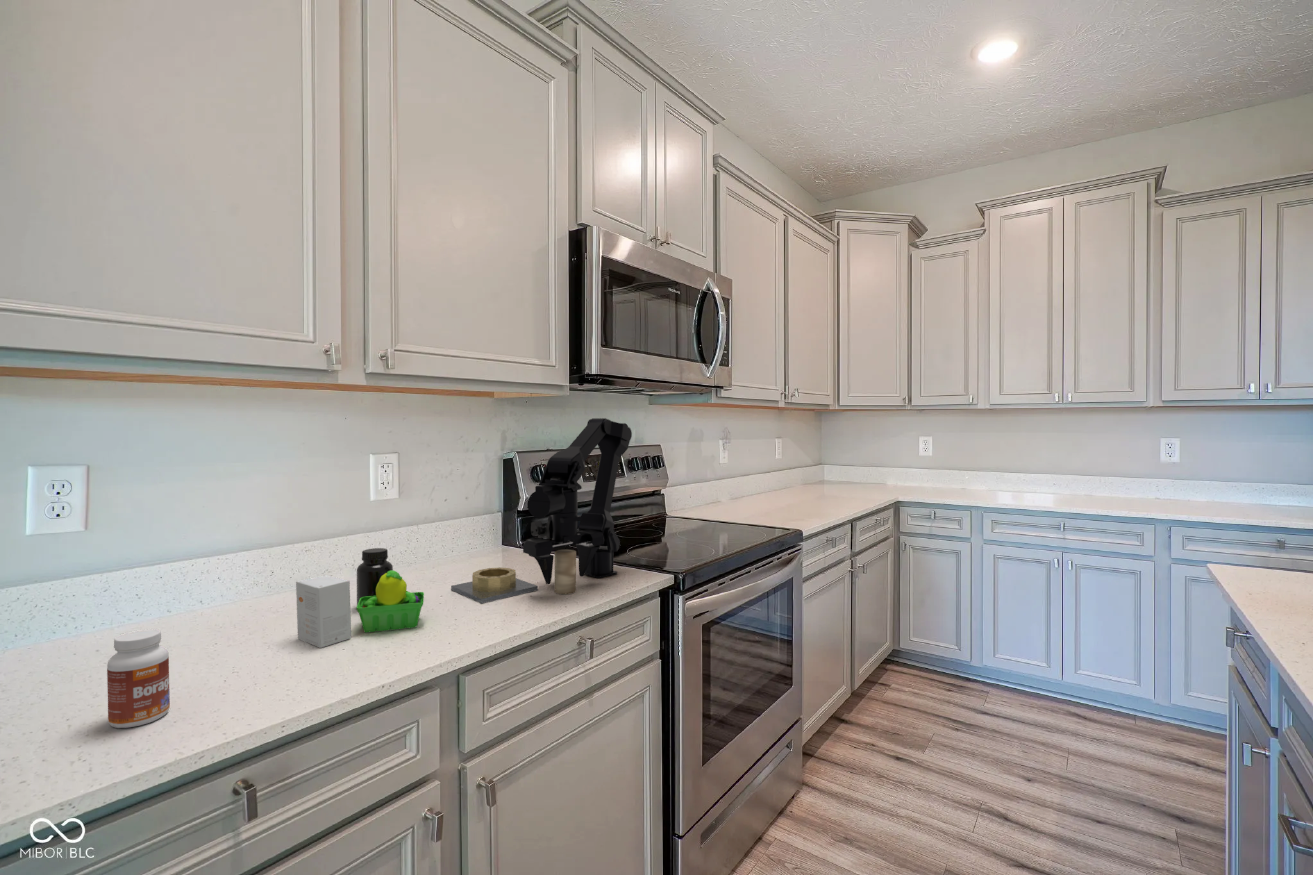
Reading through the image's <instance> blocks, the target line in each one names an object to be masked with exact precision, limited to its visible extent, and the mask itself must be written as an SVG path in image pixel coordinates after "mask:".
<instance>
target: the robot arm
mask: <svg viewBox="0 0 1313 875" xmlns="http://www.w3.org/2000/svg"><path fill="white" fill-rule="evenodd" d="M632 434H633V433H632V429H631V427H629V426H628V424H627V423H625V422H622V423H621V422H616V421H613V420H611V419H609V418H606V417H604V418H603V417H602V418H601V417H599V418H598V417H595V418H590V419H588V420H587V425H586V426H585V427H584V428H583V429H582V431H581V432H580V433H579V434H578V435H577V436H576V438H575V439H574V440H573V441H572V443H570V445H568V446H567V447H566V448H565V449H561V450H559V451H557V452H555V453H554V454H553V455H551V456H550V458H548V460H547V463H546V464H545V467H544V470H543V472H542V475H541V478H540V480H539V483H538V484H537V485H535V489H534V490H535V491H534V492H532V493H531V494H530V495H529V497H528V501H527V509H528V510H527V511H528V512H529V513H530V515H532V517H534V518H536V519H542V518H543V519H544V518H546V517H547V522H545V523H543V522H542V520H536V521H532V522H530V533H531V535H532V537H535V538H530V539H525V541H524V543H523V545H522V553H523V554H527V555H528V556H529V557H531V558H534V560H535V561H536V562H537V564H538V566H539V569H540V570H541V573H542V576H543V578H544V582H545V584H546V585H551V583H552V576H553V567H554V559H555V554H554V555H553V554H552V552H553V551H554V549H557V548H558V549H559V548H562V547H569V546H574V545H575V546H576V549H577V552H578V575H579V576H580V577H584V576H589V577H592V578H596V579H601V578H605V577H606V578H607V577H609V576H614V575H617V574H618V571H617V570H614V553H615V552H618V550H620V544H621V541H620V538H619V536H618V535H617V533H616V532H615V530H614V529H615V522H614V519H613V517H612V514H611V507H612V503H613V497H614V491H615V487H616V480H617V476H618V470H619V463H620V459H621V457H622V456H623V455H624V454H625V453H626V451H627V450H628V448H629V444H630V441H631V439H632ZM597 446H598V448H599V452H600V458H599V463H598V464H599V465H598V467H597V468H598V469H597V474H596V480H595V484H594V489H593V490H594V491H593V494H592V495H593V496H592V500H591V505H590V508H589V509H588V511H587V512H582V514H581V515H578V513H579V512H578V509H579V508H578V505H579V504H578V491H579V490H582V489H583V487H582V485H581V484H580V483H578V481H579V480H580V478H581V477H582V476H583V474H584V471H585V470H586V464H585V462H586V460H587V459H588V457H589V456H590V455H591V453H592V452H593V451H594V449H596V447H597ZM578 524H579V525H578ZM550 539H551V540H550Z"/></svg>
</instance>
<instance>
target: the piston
mask: <svg viewBox="0 0 1313 875" xmlns="http://www.w3.org/2000/svg"><path fill="white" fill-rule="evenodd" d="M576 591H577V551H576V550H574V549H558V550H555V551H554V593H555V594H557V595H570V594H571V595H572V594H574V593H576Z"/></svg>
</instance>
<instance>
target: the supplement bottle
mask: <svg viewBox="0 0 1313 875" xmlns="http://www.w3.org/2000/svg"><path fill="white" fill-rule="evenodd" d="M387 559H389V555H388V549H387V548H384V547H377V548H376V547H374V548H366V549H363V550H362V551H361V561H362V563H360V564H359V565H358V566H357V568H356V606H357V605H358V603H359V600H360V598H362V597H367V596H376V586H377V584H378V582H379V580H380V578H381V577H382V575H384V574H385V573H387V572H388V571H392V570H394V568H393V564H392V562H390V561H388V560H387Z"/></svg>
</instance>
